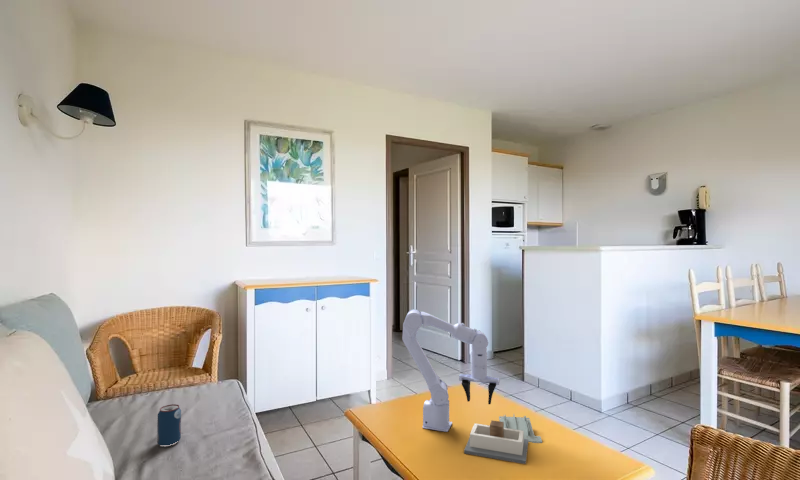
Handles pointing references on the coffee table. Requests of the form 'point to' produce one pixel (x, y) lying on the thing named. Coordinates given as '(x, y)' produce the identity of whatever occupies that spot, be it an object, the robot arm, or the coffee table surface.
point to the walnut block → (497, 429)
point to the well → (497, 444)
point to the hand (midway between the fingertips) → (479, 402)
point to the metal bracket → (521, 427)
